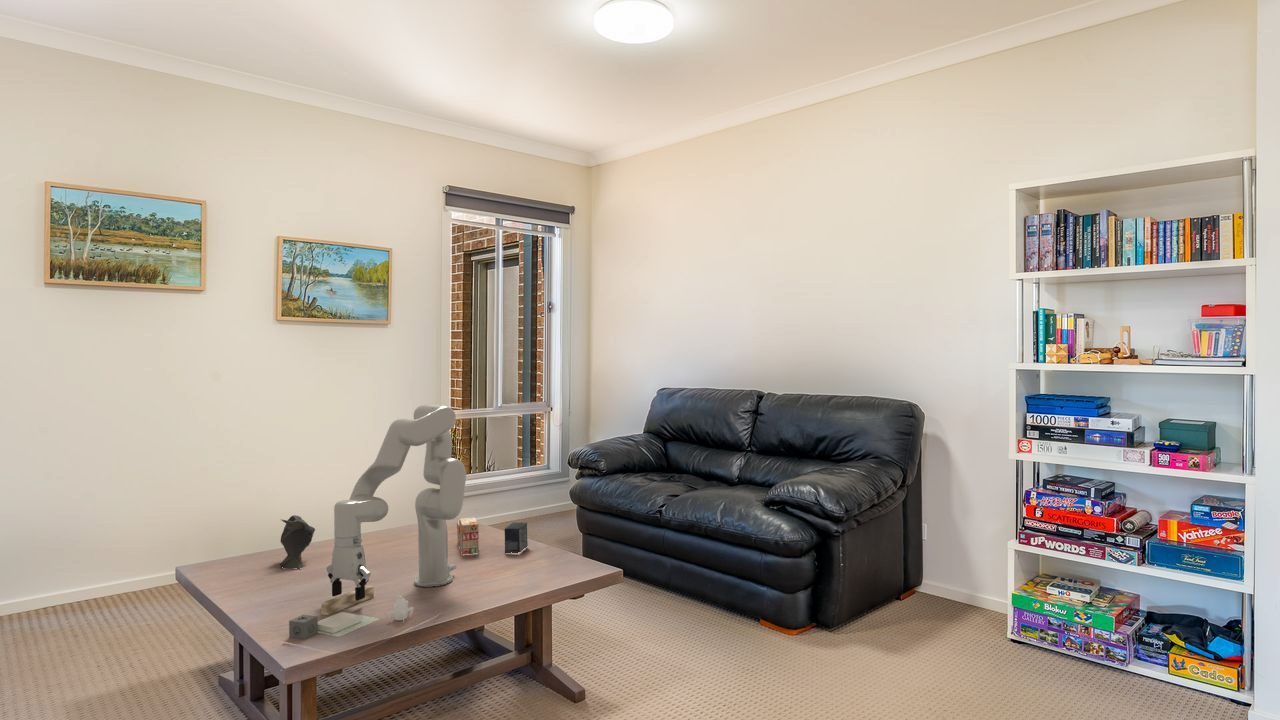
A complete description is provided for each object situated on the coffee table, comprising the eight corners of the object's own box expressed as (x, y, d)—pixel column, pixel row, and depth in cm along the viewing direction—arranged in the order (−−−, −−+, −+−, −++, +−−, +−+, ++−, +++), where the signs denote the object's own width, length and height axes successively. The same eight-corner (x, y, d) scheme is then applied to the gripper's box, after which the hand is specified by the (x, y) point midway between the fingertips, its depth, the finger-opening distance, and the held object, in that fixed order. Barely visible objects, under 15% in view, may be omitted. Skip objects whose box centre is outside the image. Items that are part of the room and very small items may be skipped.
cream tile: (341, 612, 210) (312, 623, 201) (361, 615, 207) (333, 627, 198) (341, 617, 210) (312, 629, 201) (361, 621, 207) (333, 633, 198)
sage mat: (344, 613, 215) (344, 612, 215) (380, 620, 209) (380, 618, 209) (302, 630, 201) (302, 629, 201) (338, 638, 195) (338, 636, 195)
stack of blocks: (457, 543, 298) (456, 513, 298) (472, 542, 300) (472, 512, 300) (462, 556, 278) (461, 524, 278) (478, 555, 280) (478, 523, 280)
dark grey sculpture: (326, 558, 277) (325, 511, 277) (300, 569, 262) (300, 519, 262) (292, 556, 280) (292, 510, 280) (265, 568, 265) (264, 518, 265)
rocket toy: (413, 618, 211) (413, 591, 211) (404, 625, 205) (404, 597, 205) (396, 617, 211) (396, 590, 211) (386, 624, 206) (386, 596, 206)
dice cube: (302, 632, 200) (302, 614, 200) (317, 634, 199) (317, 616, 199) (289, 639, 195) (289, 620, 195) (304, 641, 194) (304, 622, 194)
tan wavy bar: (368, 598, 230) (368, 585, 230) (373, 599, 229) (373, 586, 229) (321, 616, 214) (321, 602, 214) (327, 617, 213) (327, 603, 213)
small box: (512, 548, 290) (512, 521, 290) (528, 548, 289) (527, 522, 289) (503, 555, 279) (503, 527, 279) (520, 555, 278) (519, 528, 278)
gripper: (378, 541, 221) (378, 597, 221) (337, 536, 228) (337, 590, 228) (359, 547, 214) (359, 604, 214) (317, 541, 222) (318, 597, 222)
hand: (348, 597), depth 221 cm, fingers open, 9 cm apart
